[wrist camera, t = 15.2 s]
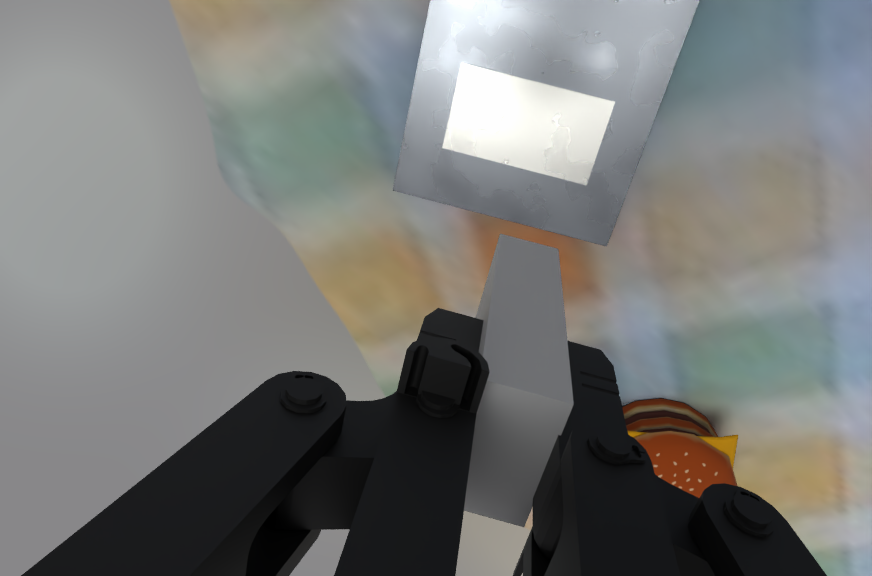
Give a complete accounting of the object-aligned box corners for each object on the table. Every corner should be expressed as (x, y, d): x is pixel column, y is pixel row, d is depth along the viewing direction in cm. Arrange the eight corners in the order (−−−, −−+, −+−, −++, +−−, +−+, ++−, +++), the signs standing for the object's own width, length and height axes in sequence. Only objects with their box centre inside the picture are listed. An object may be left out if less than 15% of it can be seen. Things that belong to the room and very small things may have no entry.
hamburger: (712, 496, 48) (737, 567, 42) (585, 488, 49) (592, 555, 43) (730, 395, 44) (761, 458, 38) (592, 390, 45) (600, 449, 39)
